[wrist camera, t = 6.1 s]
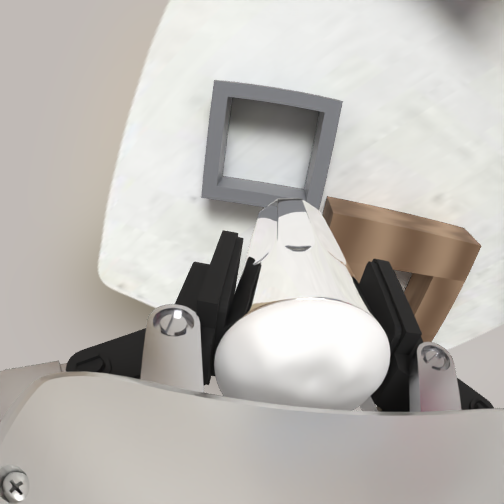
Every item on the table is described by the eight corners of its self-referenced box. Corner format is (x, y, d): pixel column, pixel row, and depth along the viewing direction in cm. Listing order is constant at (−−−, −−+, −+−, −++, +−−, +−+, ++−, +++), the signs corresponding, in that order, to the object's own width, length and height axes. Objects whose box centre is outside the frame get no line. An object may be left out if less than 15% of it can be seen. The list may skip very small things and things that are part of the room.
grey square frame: (335, 99, 25) (342, 101, 22) (313, 203, 30) (317, 216, 27) (220, 80, 25) (214, 80, 22) (208, 186, 30) (201, 197, 27)
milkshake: (311, 293, 17) (334, 483, 8) (221, 241, 15) (171, 442, 7) (370, 228, 15) (460, 414, 6) (277, 162, 13) (290, 341, 5)
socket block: (463, 228, 29) (481, 245, 26) (410, 338, 37) (419, 360, 34) (327, 196, 29) (333, 213, 26) (292, 325, 37) (292, 350, 34)
